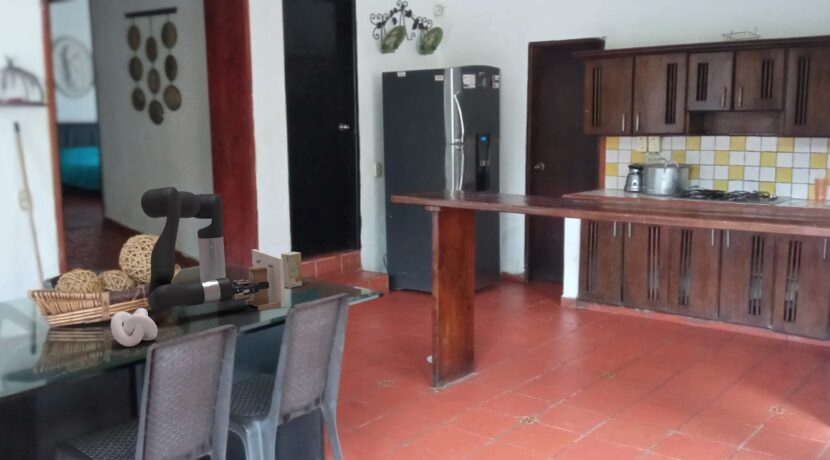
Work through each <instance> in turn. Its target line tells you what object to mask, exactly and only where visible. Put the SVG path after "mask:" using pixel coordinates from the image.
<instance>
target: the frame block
mask: <svg viewBox="0 0 830 460" xmlns="http://www.w3.org/2000/svg"><path fill="white" fill-rule="evenodd" d="M248 280H249V282H250V283H260V282H268V280H267V268H265V267H262V266H258V267H253V266H252V267H251V266H250V267H248ZM253 289H255V287H254V288H253ZM249 299H250V304H251V305H252V306H254V307H258V305H264V304H269V303H270V302H269V301H268V289H261V290H259V292H257V293H253V294H250V297H249Z"/></svg>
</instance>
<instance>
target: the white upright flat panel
mask: <svg viewBox="0 0 830 460" xmlns="http://www.w3.org/2000/svg"><path fill="white" fill-rule="evenodd" d="M251 255H252V256H251V257H252V267H258V266H262V267H265V268H267V280H268V282H269V288H268V302H269V304H264V305H258V306H257V311H258V312H260V311H266V310H271V309H278V308H286V296H285V295H286V293H285V287H284V271H283V258H281V257H279V256H276V255H274V254H271V253H269V252H268V253H267V252H264V251H261V250H259V249H255V248H254V249H251ZM248 298H249V299H248ZM242 299H243V300H244V299H245V305H247V306H250V305H251V304H250V294H249V295H243V294H242V295H237V294H234V300H236V301H237V300H242Z"/></svg>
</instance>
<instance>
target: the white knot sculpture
mask: <svg viewBox="0 0 830 460" xmlns="http://www.w3.org/2000/svg"><path fill="white" fill-rule="evenodd" d="M148 315H149V313H148V310H147V309H146V308H143V307H141V308H140V307H139V308H137V309H135V312H133V313H132V314H131V313H129V312H126V311H118V312H117V313H115V314H113V315H112V317H111V321H110V331H111V335H112V336H113V337H114V339H115V340H116V341H117V342H118V344H120V345H121V346H123V347H127V348H131V347H134V346H137V345H138V344H139V343H140V342H141V341H142V340H143V341H146V342H148V341H153V340H155V338H157V336H158V332H159V331H158V326H157V325H156V322H155V321H154V320H153V319H152V318H151V317H150V316H148Z"/></svg>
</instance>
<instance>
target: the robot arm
mask: <svg viewBox="0 0 830 460" xmlns="http://www.w3.org/2000/svg"><path fill="white" fill-rule="evenodd" d="M140 207H141V209H142V211H143V212H144V214H145V215H146V216H147V217H149V218H152V219H158V218H166V221H165V223H164V224H165V225H164V227H163V230H162V232H161V234H160V235H159V237H158V238H157V240H156V242H155V243H154V245H153V247H152V250H151V254H150V279H149V284H148V285H149V286H148V292H147V293H148V294H147V302H148V306H149V308H150V309H151V310H152V311H153V312H155V313H158V314H161V313H165V312H167V311H168V310H169V309H171V308H172V307H177V306H183V305H184V306H186V307H193V306H194V307H195V306H200V305H201V306H202V305H210V304H211V305H212V304H217V303H223V302H229V301H232V299H233V298H234V297H233V296H234V295H236V294H237V295H242V294H243V295H249V294H253V293H257V292H259V290H261V289H268V288H269V282H260V283H250V282H249V279H247V278H244V279H243V278H242V279H241V278H240V279H230V278H229V277H227V274H226V261H225V245H224V243H225V242H224V218H223V216H224V205H223V198H222V197H221V195H220V194H219V193H198V194H195V193H193V192H192V191H191V192H190V191H185V190H178V189H177V188H176V187H174V186H165V187H158V188H151V189H148V190H146V191H145V192H143V194H142V196H141V198H140ZM191 218H195V219H199V220H209V219H210V220H211V222H210V224H209V225H207V226H205V227H201V228H199V229H198V230H197V245H198V247H197V248H198V260H199V261H198V262H199V276H200V277H199V278H200V281H196V282H191V283H173V280H174V277H175V273H176V272H175V269H176V268H175V267H176V265H175V264H176V263H175V261H176V260H175V258H176V257H175V256H176V254H175V253H176V243H177V237H178V231H179V226H180V219H191ZM254 287H255V289H253V288H254Z"/></svg>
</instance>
